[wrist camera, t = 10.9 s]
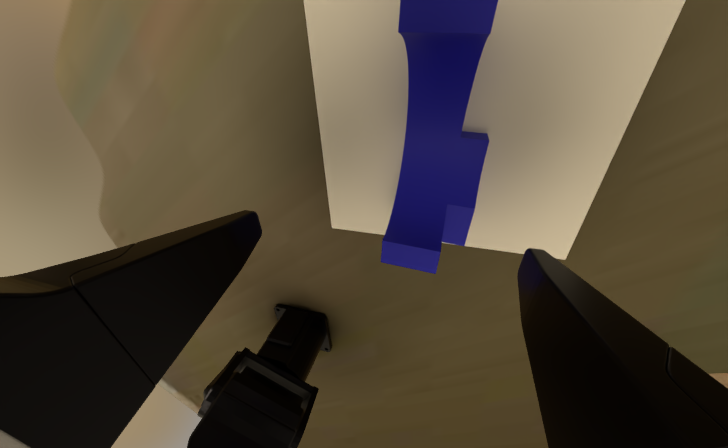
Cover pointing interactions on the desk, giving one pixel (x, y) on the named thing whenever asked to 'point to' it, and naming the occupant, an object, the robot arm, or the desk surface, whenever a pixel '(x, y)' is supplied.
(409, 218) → the cable clip
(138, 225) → the desk surface
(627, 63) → the desk mat
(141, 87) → the desk surface
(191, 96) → the desk surface
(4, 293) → the robot arm
